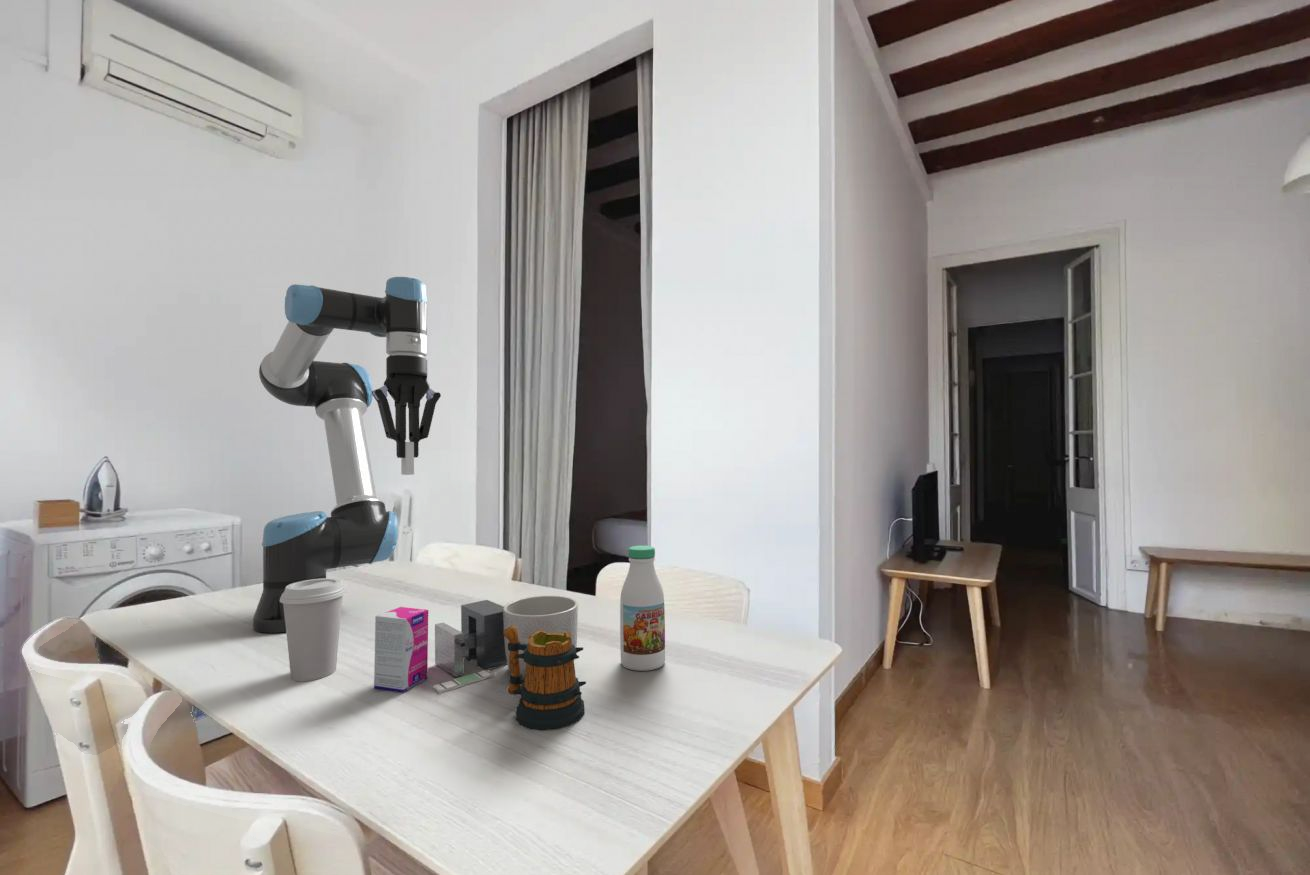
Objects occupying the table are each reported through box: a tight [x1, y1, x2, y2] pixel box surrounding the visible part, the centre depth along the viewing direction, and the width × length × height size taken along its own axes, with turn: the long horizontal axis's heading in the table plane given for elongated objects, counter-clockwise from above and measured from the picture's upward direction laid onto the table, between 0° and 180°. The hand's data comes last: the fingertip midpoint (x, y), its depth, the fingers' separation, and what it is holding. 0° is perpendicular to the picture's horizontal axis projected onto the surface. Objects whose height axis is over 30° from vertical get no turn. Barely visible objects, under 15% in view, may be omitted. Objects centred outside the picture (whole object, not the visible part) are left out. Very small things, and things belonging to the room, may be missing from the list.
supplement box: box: [373, 606, 429, 694], centre depth 90 cm, size 6×6×12 cm
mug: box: [503, 625, 587, 732], centre depth 80 cm, size 13×10×12 cm
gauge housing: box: [460, 599, 508, 671], centre depth 100 cm, size 9×5×9 cm, turn 43°
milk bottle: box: [619, 545, 666, 672], centre depth 97 cm, size 8×8×20 cm
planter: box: [503, 595, 579, 678], centre depth 95 cm, size 12×12×11 cm
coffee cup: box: [280, 577, 347, 682], centre depth 95 cm, size 10×10×15 cm
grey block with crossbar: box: [434, 622, 477, 677], centre depth 98 cm, size 10×12×7 cm
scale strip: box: [432, 669, 495, 694], centre depth 90 cm, size 2×9×1 cm, turn 133°
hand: (407, 474), depth 113 cm, fingers closed
